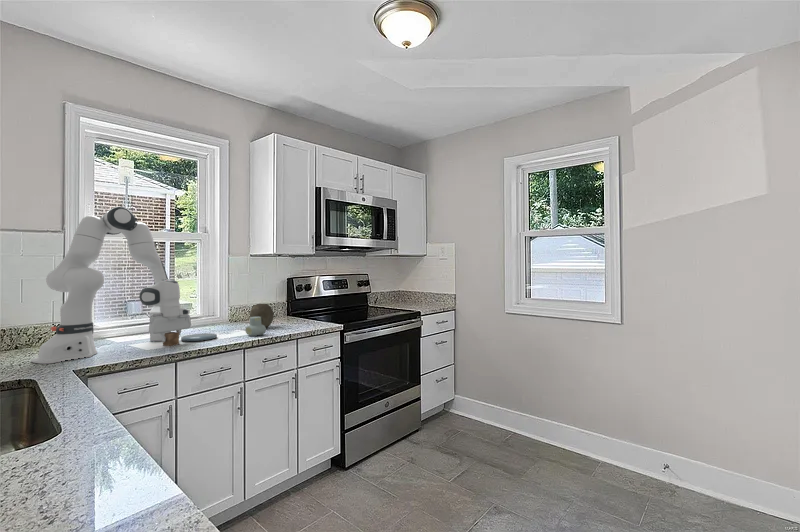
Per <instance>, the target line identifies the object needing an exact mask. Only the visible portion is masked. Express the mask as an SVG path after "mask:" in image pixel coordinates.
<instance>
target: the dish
mask: <svg viewBox="0 0 800 532" xmlns="http://www.w3.org/2000/svg"><path fill="white" fill-rule="evenodd" d="M216 338H217V334H216V333H210V332H209V333H206V332H205V333H193V334H186V335H183V336H181V337H180V340H181V341H182V342H203V341H202V340H205V341H207V340H208V341H209V340H213V339H216Z"/></svg>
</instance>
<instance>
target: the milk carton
mask: <svg viewBox="0 0 800 532" xmlns="http://www.w3.org/2000/svg"><path fill="white" fill-rule="evenodd" d="M148 313H149V318H150V317H151V316H152V315H153V314H160V305H156V306H151V309H150V311H149V312H148ZM152 317H153V316H152ZM170 332H172V331H170ZM165 333H168V332H165ZM149 341H150V342H163V341H162V337H161V336H160V333H158V334H150V333H149Z"/></svg>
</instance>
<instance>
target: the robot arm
mask: <svg viewBox="0 0 800 532" xmlns="http://www.w3.org/2000/svg"><path fill="white" fill-rule="evenodd" d="M75 229H76V230H75V232H74V233H73V237H72V239H71V244H70V246H69V248H68V251H67V253H66V254H65V256H64V257H63V259H62V260H61V261H60V263H59V264H58V265H57V266H56V267H55V268H54V269H53V270H51V271H50V272H49V273H48V274H47V275H46V278H45V280H46V285H47V287H48V288H49V289H50V290H53V291H56V292H60V293H67V294H68V296H67V298H66V301H65V302H64V303H63V304H61V305H60V308H59V309H60V311H59V312H60V313H59V314H60V324H59V326H52V327H51V332H55V334H54V335H53V336H52V337H50V338H49V339H47V341H46V342H44V343H42V344H41V345H40V346H39V350H38V355H37V357H33V358H31V362H32V363H33V364H41V365H42V364H43V365H44V364H46V365H47V364H53V363H60V362H61V361H62V362H66V361H65V360H68V361H72V360H71V359H74V360H79V359H78V358H80V359H85V358H84V357H86V358H90V357H93V356H94V355H96V354H98V351H97V348H96V345H95V339H94V322H93V303H94V300H95V297H96V294H97V293H98V291H99V290H100V289H101V288H102V287H103V286H104V284H105V283H104V282H105V277H104V274H103V273H102V272H101V271H100V270H98V269H96V268H93V267H90V266H91V264H93V262H95V261H97V259H98V258H99V257H100V253H101V251H102V246H103V243H104V240H105V237H106V236H107V235H112V236H113V235H119V234H122V235H124V237H125V239H126V242H127V247H128V251H129V255H130V256H131V258H132V259H133V260H134V262H137V263H139V264H142V265H143V266H145V267H146V268H148V269H149V271H150V272H151V275H152V278H153V281H154V284H152V285H150V286H146V287H143V288H141V290H140V292H139V301H140V303H141V304H142V305H144V306H148V307H153V306H156V305H160V314H153V315H152V316H153V317H152V316H151V317H150V316H149V325H148V332H149V335H150V334H158V333H160V336H161V337H162V341H161V342H162V343H163V342H166V341H167V338H166V337H165V336H164V335H165V332H170V331H171V332H179V336H180V335H181V333H182V330H186V329H190V328H191V326H192V323H191V322H192V321H191V316H190V313H191V312H190V309H186V308H182V307H181V303H180V297H181V291H180V285H179V282H178V281H177V280H175V279H169V277H168V274H167V272H166V269H165V266H164V263H163V261H162V259H161V257H160V256H159V253H158V252H157V251H158V250H157V249H156V246H155V241H154V239H153V238H154V237H153V235H152V232H151V230H150V228H149V226H148V224H146V223H145V222H142V221H141V222H139V221H138V218H137V217H136V216H135V215H134V213H133V212H132V210H130V209H129V208H127V207H125V206H114V207H112V208H111V209H109V210H107V211H106V212H105V213H104V214H103V215H102V216H100V217H98V216H95V215H87V216H85V217H83V218H81V220H80V222H79V224H78V226H77V227H76V228H75Z"/></svg>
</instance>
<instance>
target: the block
mask: <svg viewBox="0 0 800 532" xmlns="http://www.w3.org/2000/svg"><path fill="white" fill-rule="evenodd" d="M164 336H165V337H166V338H167V341H166V342H163V341H162V346H163V347H174V346H178V344H179V345H180V335H179V332H176V331H171V332H168V333H165V335H164ZM173 345H174V346H173Z"/></svg>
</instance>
